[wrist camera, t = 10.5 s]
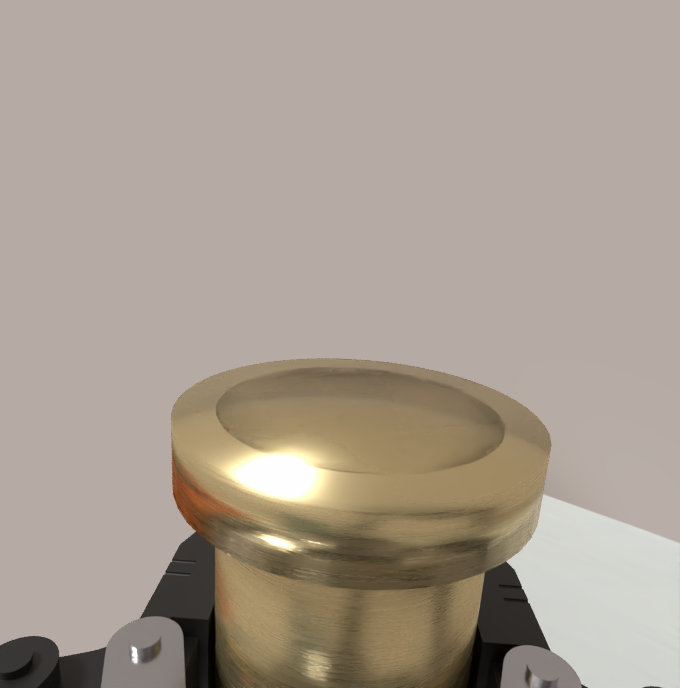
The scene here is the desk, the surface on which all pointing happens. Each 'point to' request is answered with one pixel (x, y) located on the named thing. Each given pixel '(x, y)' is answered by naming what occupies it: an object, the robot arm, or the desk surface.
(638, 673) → the desk surface
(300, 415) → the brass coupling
